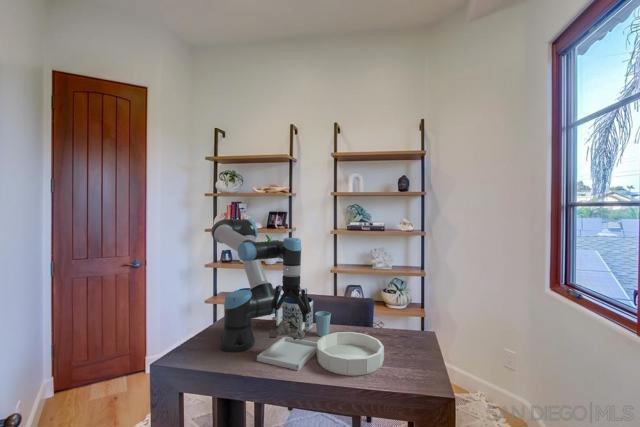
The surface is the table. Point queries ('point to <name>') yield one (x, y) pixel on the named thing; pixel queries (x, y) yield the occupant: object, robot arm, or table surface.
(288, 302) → the planter
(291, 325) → the decorative stone
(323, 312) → the cup
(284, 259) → the robot arm
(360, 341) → the bowl
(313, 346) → the tray
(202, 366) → the table surface
